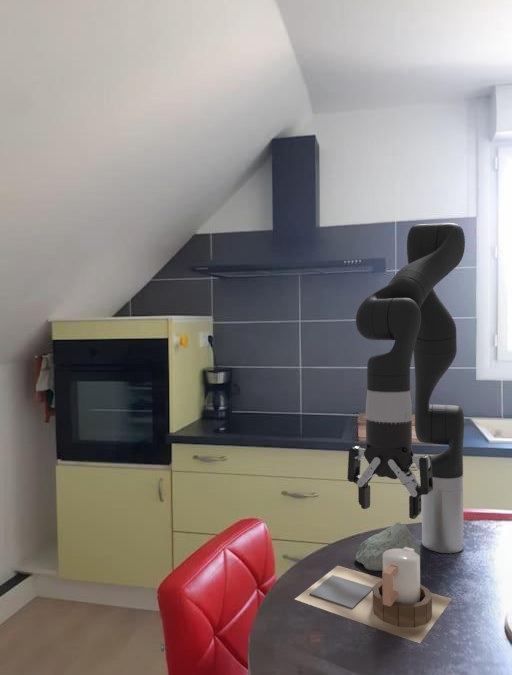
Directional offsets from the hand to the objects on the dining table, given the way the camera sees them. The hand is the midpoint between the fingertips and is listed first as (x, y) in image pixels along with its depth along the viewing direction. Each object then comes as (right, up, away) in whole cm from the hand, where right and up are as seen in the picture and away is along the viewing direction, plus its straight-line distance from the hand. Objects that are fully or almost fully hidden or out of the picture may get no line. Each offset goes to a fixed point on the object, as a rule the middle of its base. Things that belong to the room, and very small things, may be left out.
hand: (388, 512), depth 91 cm
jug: (+3, -20, +5) cm, 20 cm away
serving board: (-1, -21, +10) cm, 23 cm away
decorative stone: (+6, -20, +25) cm, 33 cm away
